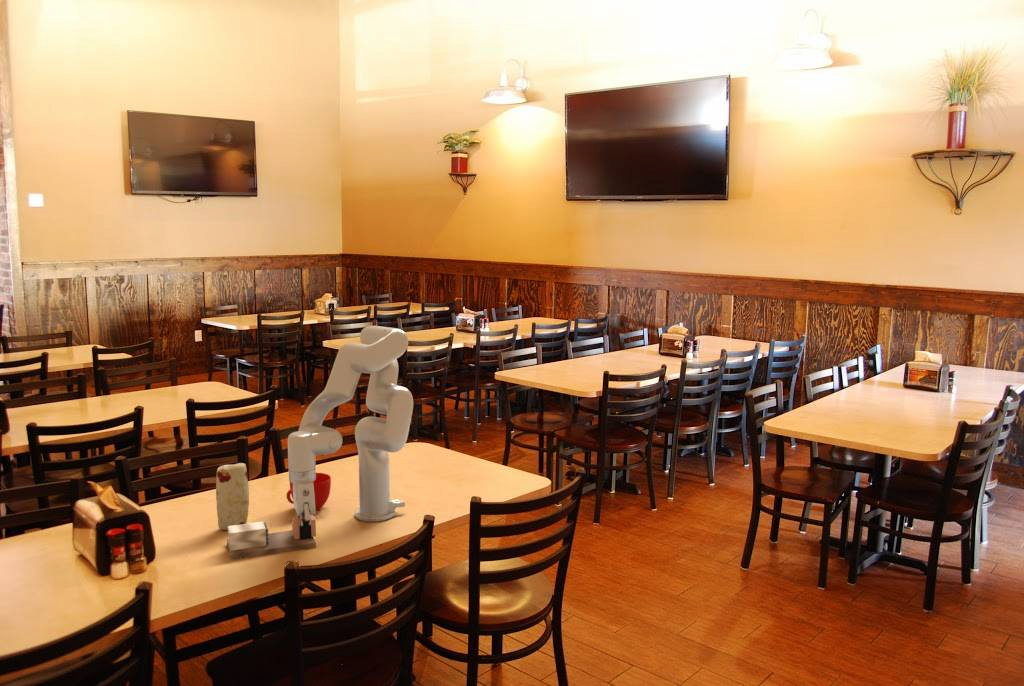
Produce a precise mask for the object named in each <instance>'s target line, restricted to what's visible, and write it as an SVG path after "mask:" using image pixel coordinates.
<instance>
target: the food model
mask: <svg viewBox="0 0 1024 686" xmlns="http://www.w3.org/2000/svg"><path fill="white" fill-rule="evenodd" d="M215 479H216V480H215V481H216V483H215V488H216V490H215V501H216V514H217V525H218V529H219V530H224V531H226V530H227V531H228V526H232V525H240V524H247V522H248V517H249V505H250V504H249V503H250V488H249V478H248V471H247V465H246V463H243V462H238V463H235V464H223V465H220V466H219V467H218V468H216V477H215Z"/></svg>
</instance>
